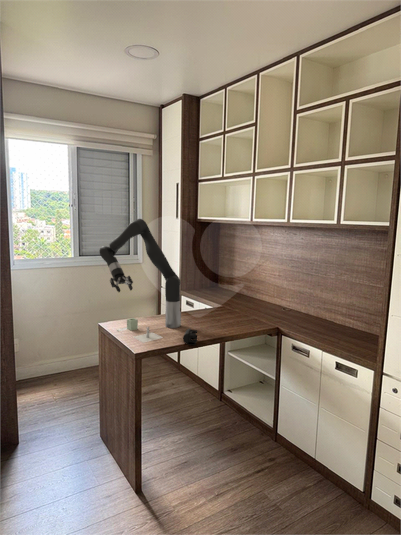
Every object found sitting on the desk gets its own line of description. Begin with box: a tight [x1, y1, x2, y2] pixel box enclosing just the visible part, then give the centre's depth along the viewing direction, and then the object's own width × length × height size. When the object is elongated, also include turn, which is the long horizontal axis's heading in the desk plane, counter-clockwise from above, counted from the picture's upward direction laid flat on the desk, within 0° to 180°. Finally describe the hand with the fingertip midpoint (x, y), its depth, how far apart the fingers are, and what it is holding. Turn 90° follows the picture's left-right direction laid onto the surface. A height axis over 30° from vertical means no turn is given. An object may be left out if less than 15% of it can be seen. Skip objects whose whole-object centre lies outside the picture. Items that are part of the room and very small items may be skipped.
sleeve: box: [126, 317, 139, 331], centre depth 225 cm, size 5×5×7 cm
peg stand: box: [132, 326, 164, 344], centre depth 210 cm, size 14×12×8 cm
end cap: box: [182, 328, 198, 346], centre depth 208 cm, size 10×7×7 cm
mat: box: [116, 326, 128, 332], centre depth 225 cm, size 14×14×1 cm
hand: (125, 290), depth 230 cm, fingers open, 8 cm apart
